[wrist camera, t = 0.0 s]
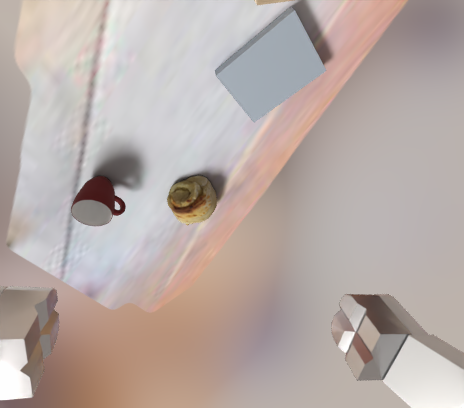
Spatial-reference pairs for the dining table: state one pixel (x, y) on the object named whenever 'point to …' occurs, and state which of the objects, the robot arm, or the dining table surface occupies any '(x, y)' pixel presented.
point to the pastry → (192, 200)
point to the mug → (96, 202)
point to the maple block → (269, 1)
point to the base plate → (271, 66)
